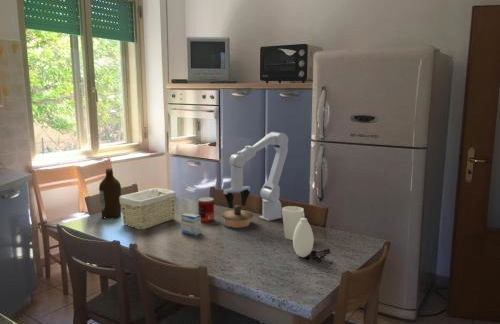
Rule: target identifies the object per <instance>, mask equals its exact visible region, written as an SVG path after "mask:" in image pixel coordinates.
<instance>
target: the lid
mask: <svg viewBox="0 0 500 324" xmlns="http://www.w3.org/2000/svg"><path fill="white" fill-rule="evenodd" d="M253 213H254V212H252V211H250V210H244V209H242V205H240V204H236V205H234V206H233V209H232V210H231V209H229V210H226V211H224V212H222V214H221V215H222V218H223V220H225V219H227V220H235V221H240V220H247V219H250V220H251V219H252V218H253V217H254V214H253Z"/></svg>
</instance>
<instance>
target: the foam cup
mask: <svg viewBox="0 0 500 324" xmlns="http://www.w3.org/2000/svg"><path fill="white" fill-rule="evenodd" d="M304 211H305V210H304V208H303V207H300V206H296V205H295V206H293V205H292V206H291V205H288V206H284V207H281V216H282V222H283V231H284V238H285V239H287V240H291V241H293V235H294V231H295V228H296V226H297V224H298V223H299V222H300V219H301V218H303V213H304V214H305V212H304Z"/></svg>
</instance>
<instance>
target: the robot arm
mask: <svg viewBox="0 0 500 324" xmlns="http://www.w3.org/2000/svg"><path fill="white" fill-rule="evenodd" d="M288 144H289V137H288V136H287V134H286V133H284V132H276V131H270V132H269V133H267V134H266V135H265V136H264V137H262V138H261V139H260V140H259V141H257V142H256V143H254V144H253V145H245V146H244V148H243V149H241V150H239V151H237V152H236V153H233V154H231V156H230V157H229V159H228V164H229V165H230V187H229V188H226V189H223V195H224V197H225V199H226V201H227V206H228V208H230V209H234V206H233V205H234V197H235V194H233V193H240V199H241V201H240V202H241V206H243V207H245V206H246V203H247V199H248V198H249V195H250V194H251V192H250V191H251V186H249V185H245V186H244V173H243V172H244V166H245V164H246V162H247V161H249V160H251V159H252V158H254V157H255V156H257V155H256V154H257V152H260V151H261V150H262V149H264V148H265V147H267V146H269V145H270V146H272V147H273V148H274V151H275V152H276V153H275V155H274V159H273V161H272V165H271V168H270V172H269V174H268V179H267V181H266V182H264V184H263V186H262V188H261V189H260V191H259V195H260V197H261V200H262V215H259V216H258V218H260V219H262V220H265V221H268V222H269V221H273V220H278V219H283V215H282V202H281V201H280V200H279V199H280V196H281V194H280V192H281V187H280V185H279V182H280V180H281V175H282V172H283V168H284V165H285V162H286V158H287V155H288V153H289V152H288V151H289V148H288Z"/></svg>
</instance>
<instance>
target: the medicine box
mask: <svg viewBox="0 0 500 324" xmlns="http://www.w3.org/2000/svg"><path fill="white" fill-rule="evenodd" d="M180 216H181V217H180V218H181V219H180V220H181V225H180V227H181V234H184V233H185V234H184V235H189V234H190V236H198V235H199V234H201V233H202V230H201V229H202V227H201V226H202V225H201V224H202V222H201V215H199V214H196V213H189V212H186V213H185V212H184V213H182V214H181V215H180Z"/></svg>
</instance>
